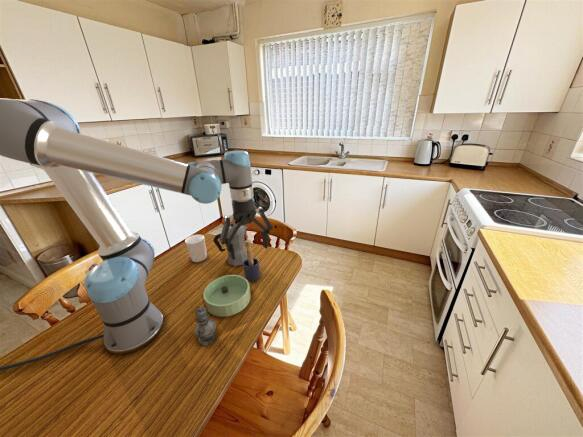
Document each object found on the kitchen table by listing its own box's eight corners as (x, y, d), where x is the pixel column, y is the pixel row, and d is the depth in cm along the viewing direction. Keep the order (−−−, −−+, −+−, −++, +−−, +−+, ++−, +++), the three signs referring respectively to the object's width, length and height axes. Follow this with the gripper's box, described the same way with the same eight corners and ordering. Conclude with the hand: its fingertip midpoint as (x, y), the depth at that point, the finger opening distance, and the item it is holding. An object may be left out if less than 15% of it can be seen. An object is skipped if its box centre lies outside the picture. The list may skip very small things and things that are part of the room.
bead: (222, 295, 84) (221, 290, 83) (220, 291, 86) (219, 286, 85) (229, 292, 85) (228, 287, 84) (227, 288, 87) (226, 283, 86)
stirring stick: (251, 278, 93) (246, 242, 86) (249, 275, 94) (244, 240, 87) (256, 276, 93) (251, 241, 87) (253, 273, 95) (249, 239, 88)
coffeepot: (246, 250, 112) (241, 215, 104) (256, 259, 105) (252, 222, 97) (214, 263, 103) (207, 226, 95) (223, 274, 96) (216, 235, 89)
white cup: (212, 256, 108) (208, 237, 104) (197, 265, 102) (192, 245, 98) (200, 251, 112) (196, 232, 108) (186, 260, 106) (181, 240, 102)
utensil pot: (248, 284, 90) (246, 269, 87) (242, 275, 95) (240, 261, 92) (262, 278, 93) (261, 263, 90) (256, 270, 98) (254, 256, 95)
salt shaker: (211, 347, 67) (203, 316, 62) (193, 344, 68) (183, 313, 63) (221, 330, 72) (214, 299, 67) (203, 327, 73) (195, 297, 68)
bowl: (212, 325, 74) (209, 313, 71) (201, 295, 85) (198, 284, 83) (257, 304, 81) (256, 293, 78) (241, 280, 92) (240, 269, 90)
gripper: (208, 210, 71) (220, 268, 81) (279, 194, 83) (282, 246, 92) (202, 203, 77) (214, 258, 86) (269, 188, 89) (273, 238, 98)
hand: (249, 252), depth 89 cm, fingers open, 12 cm apart
